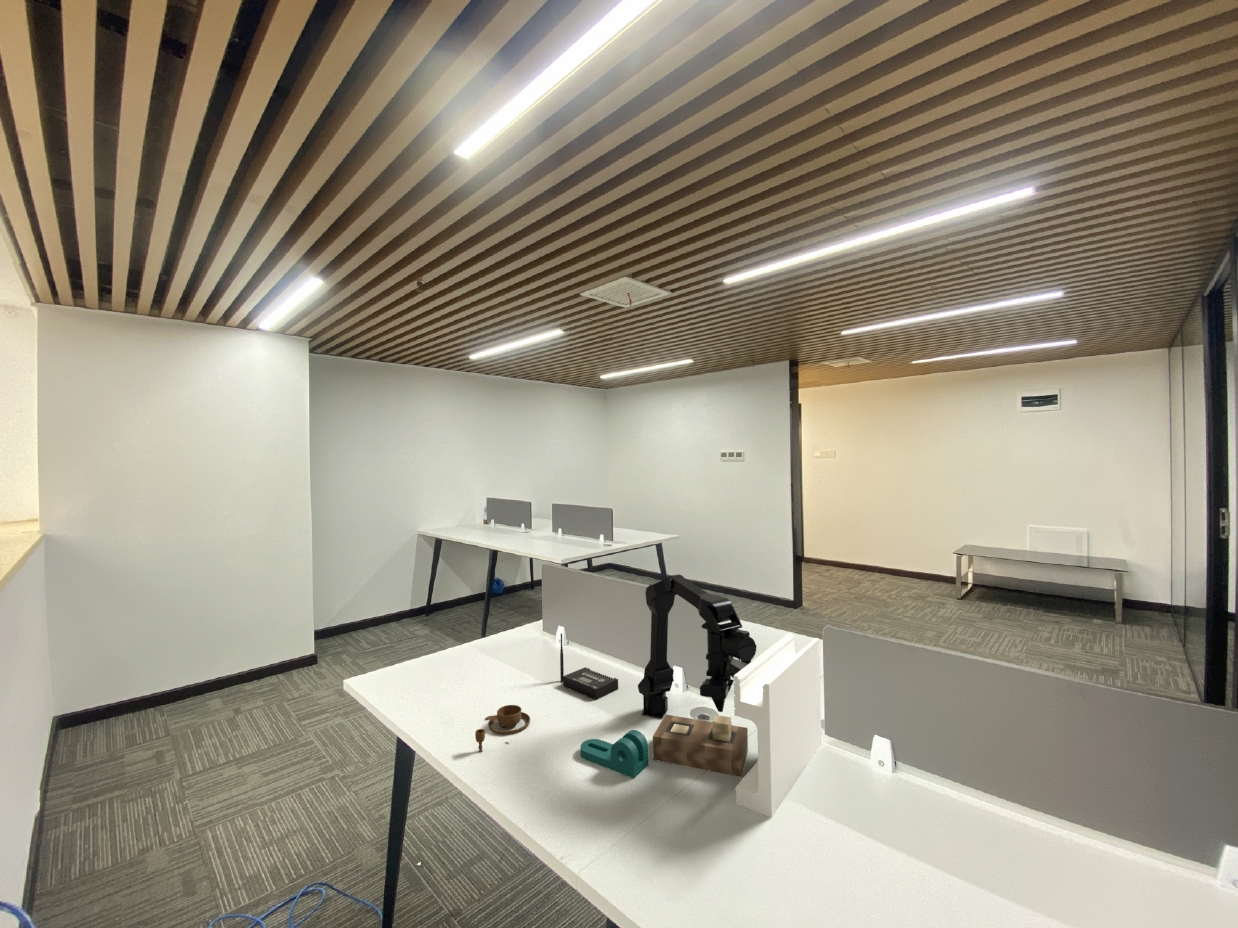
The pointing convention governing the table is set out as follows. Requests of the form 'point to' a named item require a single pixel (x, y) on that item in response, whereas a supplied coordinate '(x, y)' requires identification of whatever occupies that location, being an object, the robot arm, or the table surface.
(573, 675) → the wireless controller
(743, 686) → the block
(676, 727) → the peg
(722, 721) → the peg
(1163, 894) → the table surface
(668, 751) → the band block
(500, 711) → the place setting
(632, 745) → the bracket
